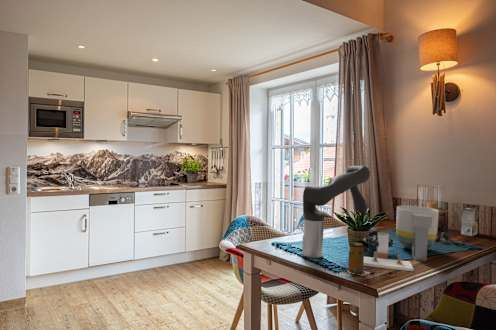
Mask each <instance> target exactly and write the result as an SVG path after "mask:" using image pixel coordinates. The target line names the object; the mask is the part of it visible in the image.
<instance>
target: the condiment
mask: <svg viewBox="0 0 496 330" xmlns="http://www.w3.org/2000/svg"><path fill="white" fill-rule="evenodd" d="M364 256H365V251H364V244H363V243H361V242H355V241H352V242H350V245H349V249H348V261H347V263H348V264H347V270H348V271H349V272H351V273H355V275H354V276H357V275H356V274H362V273H363V271H364V272H365V273H367V274H368V275H369V273H370V274H371V272H369V271H365V270H364ZM359 277H362V276H361V275H360V276H359Z"/></svg>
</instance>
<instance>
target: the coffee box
mask: <svg viewBox="0 0 496 330" xmlns="http://www.w3.org/2000/svg"><path fill="white" fill-rule="evenodd" d="M479 211H480V209H479V208H474V207H473V208H472V207H466V208H462V212H461V213H462V214H461V229H460V234H461V235H465V236H471V237H473V236H476V235H478V227H479Z"/></svg>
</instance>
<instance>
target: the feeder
mask: <svg viewBox="0 0 496 330" xmlns="http://www.w3.org/2000/svg"><path fill="white" fill-rule="evenodd" d="M411 223H412V224H413V225H414V229H413V242H412V250H411V256H412V258H413V259H414V261H421V262H426V261H427V257H428V249H427V243H428V228H431V224H432V217H431V216H430V215H429V214H425V213H412V218H411Z"/></svg>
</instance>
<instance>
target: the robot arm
mask: <svg viewBox="0 0 496 330" xmlns="http://www.w3.org/2000/svg"><path fill="white" fill-rule="evenodd" d="M370 176H371V171H370V168H368V167H367V166H365V165H350V166H348V168H347V169H346V173H345V172H344V173H340V174H337V175H335V176H333V177H331V178H330V179H329V181H328V182H327V183H328V184H327V185H325V186H323V185H314V184H313V185H311V184H309V185H306V186H305V188H304V189H303V194H302V212H303V235H302V246H301V248H302V250H301V251H302V252H301V256H302V257H303V256H304V257H308V258H312V259H313V258H314V259H315V258H316V259H318V258H319V259H320V258H322V257H323V251H324V250H323V248H324V227H325V226H324V222H325V214H324V213H323V212H321V211H320V210H318V209H319V208H317V207H323V206H325V205H326V204H328V203H330V202H331V201H332V200H333V199H335V198H336V197H338V196H340V195H341V194H343V193H345V192H347V191H349V190H350V193H351V197H352V202H353V210H354V213H355V211H356V210H358V211H359V212H360V213H362V212H364V211H367V212H368V204H367V201H366V199H365V197H364V196H363V194H362V193H361V191H360V190H359V188H358V185H361V184H363V183H364V184H365V183H366V182H368V181H369V179H370ZM316 206H317V207H316ZM378 233H381V232H380V230H378V229H376V228H374V227H372V228H371V229H370V233H369V235H368V237H366V236H364V237H363V240H362V241H363V242H364V243H366V244H368V245H372V246H375V247H376V248H377V247H379V242H378V241H377V234H378ZM393 244H394V239H393V237H392V236H389V242H388V248H392V247H393Z"/></svg>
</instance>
